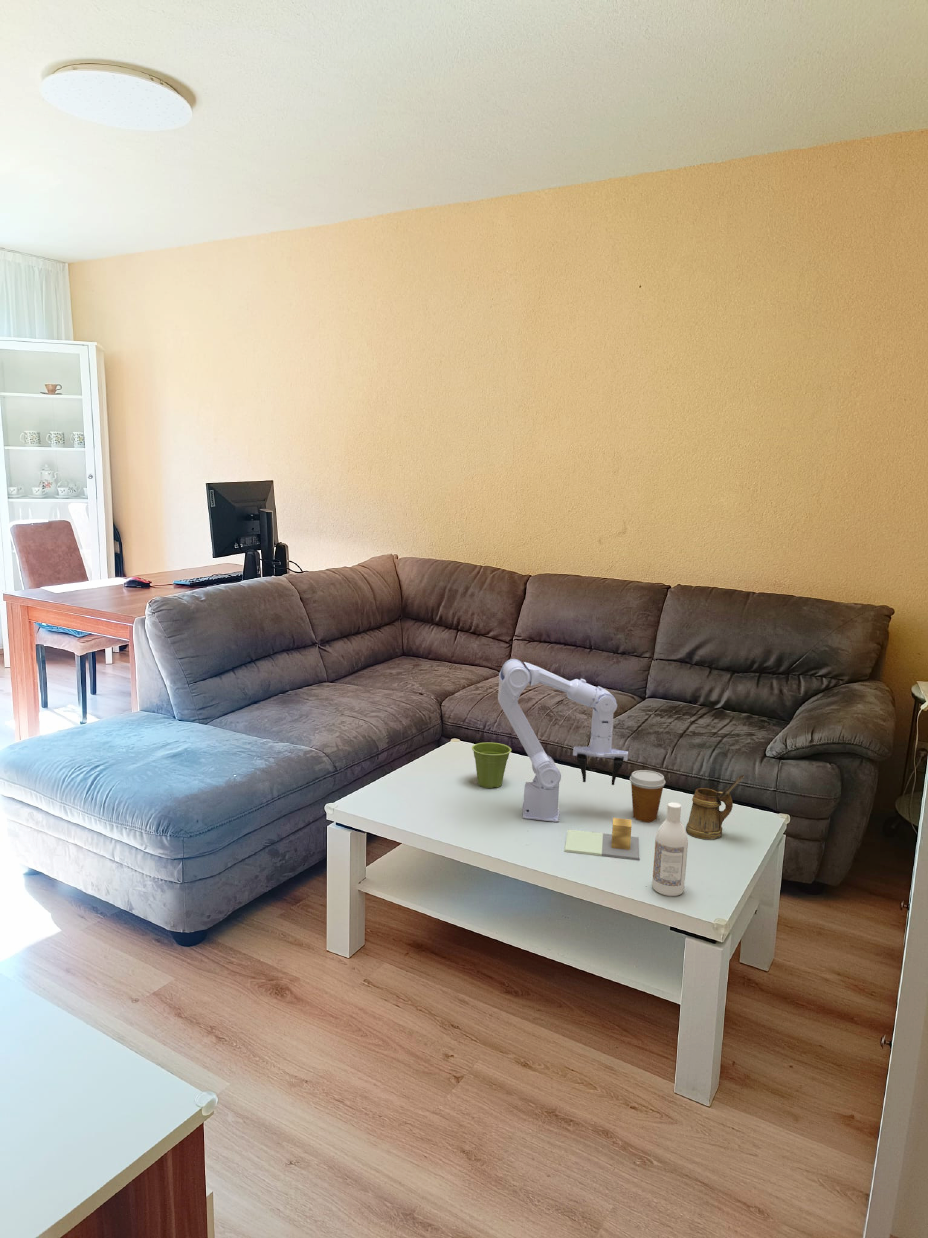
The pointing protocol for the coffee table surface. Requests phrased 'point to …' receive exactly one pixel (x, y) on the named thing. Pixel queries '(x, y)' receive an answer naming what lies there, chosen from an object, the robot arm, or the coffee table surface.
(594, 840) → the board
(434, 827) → the coffee table surface
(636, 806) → the disposable coffee cup
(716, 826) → the wooden mug
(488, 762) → the plant pot
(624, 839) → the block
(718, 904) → the coffee table surface
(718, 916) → the coffee table surface
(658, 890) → the bath foam
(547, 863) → the coffee table surface
